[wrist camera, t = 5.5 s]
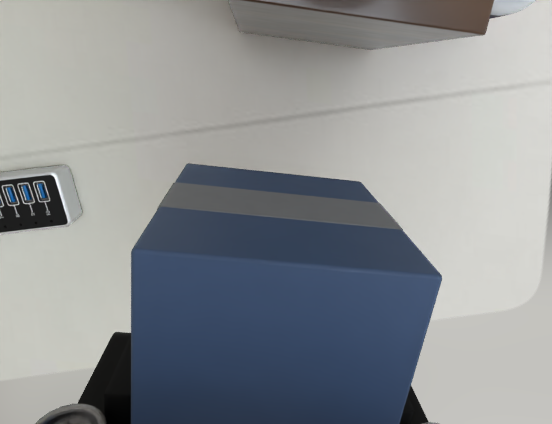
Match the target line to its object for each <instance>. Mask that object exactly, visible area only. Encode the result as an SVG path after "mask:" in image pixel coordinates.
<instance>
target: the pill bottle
mask: <svg viewBox="0 0 552 424" xmlns="http://www.w3.org/2000/svg"><path fill="white" fill-rule="evenodd" d="M535 1H536V0H494V3H493V7H492V11H491V15H490V18H495V17H500V16H505V15H509V14H512V13H515V12H518V11H521V10H523V9H524V8H526V7H528V6H529V5H531V4H532V3H533V2H535ZM490 18H489V19H490Z"/></svg>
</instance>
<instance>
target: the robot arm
mask: <svg viewBox="0 0 552 424" xmlns="http://www.w3.org/2000/svg"><path fill="white" fill-rule="evenodd" d="M36 424H131V333H122V332H115V333H114V334H113V336H112V337H111V339H110V341H109V343H108V345H107V347H106V349H105V351H104V353H103V355H102V357H101V359H100V361H99V362H98V364H97V366H96V368H95V370H94V372H93V374H92V376H91V378H90V380H89V382H88V384H87V386H86V388H85V390H84V392H83V394H82V396H81V398H80V400H79V402H78V404H70V405H66V406H62V407H59V408H57V409H55V410H53V411H51V412H49V413H47V414H46V415H45V416H43V417H42V418H40V419H39V420H38V422H37V423H36ZM399 424H439V423H431V422H428V420H427V418H426V416H425V414H424V412H423V410H422V408H421V405H420V403H419V401H418V399H417V397H416V395H415V393H414V391H413V389H412V387H411V386H410V389H409V393H408V396H407V399H406V403H405V406H404V410H403V413H402V416H401V420H400V423H399Z"/></svg>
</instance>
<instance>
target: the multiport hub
mask: <svg viewBox="0 0 552 424" xmlns="http://www.w3.org/2000/svg"><path fill="white" fill-rule="evenodd" d="M81 215H82V209H81V205H80V202H79V198H78V195H77V191H76V188H75V184H74V181H73V178H72V174H71V171H70V168H69V167H68V166H66V165H58V166H49V167H41V168H32V169H24V170H16V171H7V172H0V235H2V234H10V233H19V232H27V231H35V230H44V229H52V228H60V227H68V226H70V225H71V224H72V223H73V222H74V221H75V220H76V219H78V218H79V217H80V216H81Z"/></svg>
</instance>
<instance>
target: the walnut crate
mask: <svg viewBox="0 0 552 424" xmlns="http://www.w3.org/2000/svg"><path fill="white" fill-rule="evenodd" d="M228 2H229V5H230V8H231V10H232V13H233V16H234V18H235V21H236V23H237V26H238V29H239V31H240V32H244V33H251V34H258V35H266V36H273V37H281V38H288V39H295V40H303V41H310V42H317V43H325V44H332V45H339V46H347V47H354V48H362V49H369V50H374V49H382V48H389V47H397V46H404V45H412V44H419V43H427V42H434V41H442V40H449V39H457V38H465V37H472V36H480V35H484V34H485V33H486V30H487V26H488V22H489V18H490V15H491V11H492V7H493V3H494V0H228Z"/></svg>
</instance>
